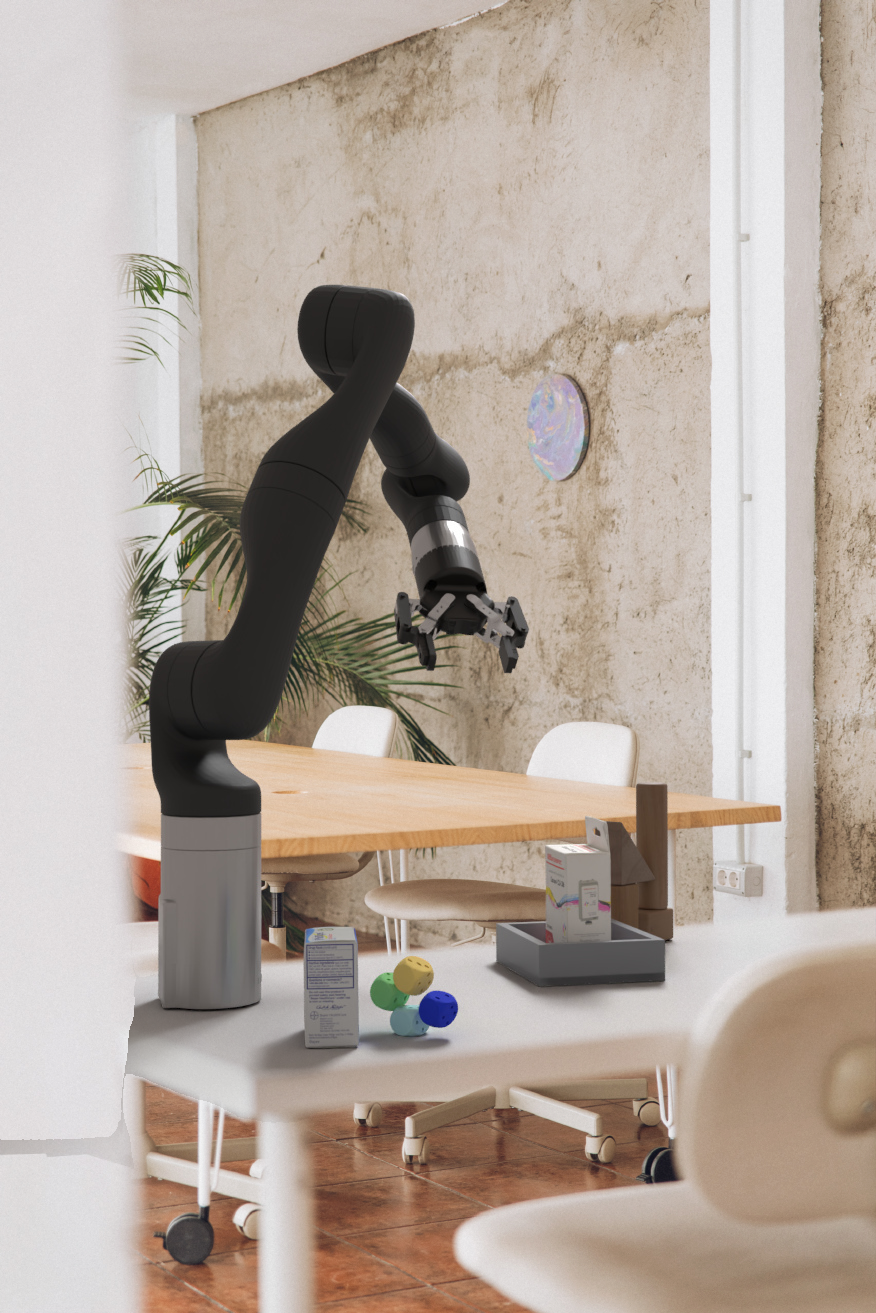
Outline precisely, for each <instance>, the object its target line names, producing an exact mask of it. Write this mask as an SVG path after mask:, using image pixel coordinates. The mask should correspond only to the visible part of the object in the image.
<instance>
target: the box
mask: <svg viewBox="0 0 876 1313" xmlns="http://www.w3.org/2000/svg"><path fill="white" fill-rule="evenodd" d="M495 933H496V934H495V937H496V938H495V939H496V940H495V943H496V944H495V946H496V947H495V949H496V950H495V958H496V960H495V961H496V962H497V961H498V962H497V963H498V964H500V963H501V965H502V966H503V967H505V968H507V969H509V970H510V969H511V972H514V973H515V974H517V975H519V976H521V977H522V978H524V979H525V980H527V981H529V982H530V983H532V984H534V985H536V986H537V987H541V988H542V987H556V986H558V987H560V986H562V987H563V986H579V985H600V984H620V983H622V984H623V983H624V984H625V983H638V982H639V983H642V982H643V983H646V982H660V981H661V982H662V981H663V982H664V981H666V940H664V939H662V938H659V937H657V936H654V935H652V934H649V933H647V932H644V931H642V930H639V929H637V928H634V927H632V926H629V925H627V924H624V923H622V922H619V921H617V920H614V919H611V940H608V941H584V942H560V943H546V920H545V921H542V920H541V921H524V922H523V921H518V922H516V921H515V922H496V923H495Z"/></svg>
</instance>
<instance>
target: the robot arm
mask: <svg viewBox="0 0 876 1313" xmlns="http://www.w3.org/2000/svg"><path fill="white" fill-rule="evenodd" d="M414 311H415V310H414V307H413V305H412V303H411V301H410V300H409V298H408V297H407V296H406V295H405V294H403V293H401V292H398V291H395V290H391V289H386V288H376V287H368V286H367V287H366V286H358V285H347V284H345V285H344V284H322V285H318V286H316V287H313V288H312V289H311V290H310V291H309V292H307V295H306V296H305V298H304V299H303V301H302V304H301V306H300V310H299V314H298V320H297V327H296V329H297V341H298V344H299V349H300V351H301V355H302V357H303V359H304V361H305V362H306V364H307V365H308V366H309V368H310V369H311V370H312V372H313V373H314V374H315V375H316V376H317V377H318V378H319V379H320V381H321V382H323V384H325V385H326V387H327V388H328V389H329V390H330V391H331V392H332V395H331V397H329V398H328V399H327V400H326V401H325V402H324V403H323V404H322V405H320V406H319V407H318V408H317V409H315V410H314V411H313V412H312V413H310V414H309V415H308V416H306V417H305V418H303V420H301V421H300V422H298V423H297V424H296V425H294V426H293V427H292V428H291V429H289V430H288V431H287V432H285V434H282V436H281V437H279V439H277V440H276V441H275V442H274V443H273V445H271V447H270V448H268V450H267V451H266V452H265V454H264V455H263V457H262V458H261V461H259V465H258V467H257V468H256V469H257V470H256V471H255V474H254V476H253V478H252V481H251V484H250V487H249V489H248V491H247V494H246V495H245V498H244V501H243V504H242V508H241V511H240V515H239V534H240V541H241V547H242V548H241V549H242V553H243V559H244V561H245V562H244V563H245V564H244V565H245V570H246V587H245V590H244V591H245V592H244V595H243V598H242V600H241V601H242V602H241V604H240V607H239V610H238V613H237V615H236V616H235V620H234V621H233V624H232V625H231V628H230V630H229V631H228V633H227V635H226V636H225V638H223V639H219V640H218V639H217V640H216V639H214V640H213V639H212V640H190V641H189V640H188V641H182V642H177V643H174V644H173V645H171V646H169V647H167V648H166V649H165V650H163V652H162V653H161V654H160V656H159V657H158V658H157V659H156V662H155V664H154V667H153V670H152V673H151V678H150V684H149V691H148V692H149V694H148V714H149V716H148V717H149V736H150V753H151V754H150V755H151V756H150V757H151V759H150V760H151V772H152V778H153V783H154V785H155V787H156V790H157V793H158V796H159V799H160V801H159V802H160V893H159V895H158V901H157V902H158V908H157V909H158V913H157V914H158V919H157V921H158V928H157V930H158V932H157V934H158V936H157V937H158V938H157V939H158V941H157V942H158V945H157V946H158V947H157V948H158V954H157V956H158V957H157V962H158V967H157V968H158V970H157V971H158V973H157V974H158V977H157V978H158V982H157V984H158V985H157V986H158V987H157V988H158V990H157V992H158V993H157V994H158V999H159V1002H160V1005H161V1006H162V1008H163V1009H170V1008H172V1009H173V1008H175V1009H177V1008H178V1009H179V1008H180V1009H186V1010H187V1009H191V1010H217V1009H218V1010H219V1009H221V1010H222V1009H228V1008H229V1009H230V1008H237V1007H238V1008H239V1007H243V1006H249V1005H252V1004H255V1003H257V1002H260V1001H261V1000H262V982H263V979H262V978H263V977H262V976H263V975H262V790H261V786H260V785H259V784H258V782H257V781H256V780H254V779H253V778H251V777H250V776H248V775H246V774H244V773H242V771H240V770H239V769H238V768H237V767H236V766H235V765H234V764H233V762H232V761H231V759H230V757H229V755H228V748H227V741H244V740H247V739H253V738H254V737H256V736H258V735H259V734H260V733H262V732H263V730H265V729H266V728H267V726H268V725H270V722H271V721H272V719H273V718H274V716H275V714H276V711H277V709H278V707H279V704H280V701H281V698H282V697H283V692H284V689H285V687H286V682H287V678H288V674H289V671H290V667H291V663H292V659H293V655H294V653H295V652H294V651H295V648H296V644H297V640H298V635H299V632H300V628H301V625H302V622H303V618H304V616H305V611H306V609H307V605H308V603H309V601H310V597H311V594H312V592H313V589H314V585H315V583H316V579H317V577H318V574H319V571H320V569H321V566H322V563H323V560H324V559H325V555H326V553H327V550H328V548H329V546H330V543H331V541H332V538H333V536H334V534H335V532H336V529H337V526H338V525H339V524H338V523H339V521H340V519H341V516H342V513H343V511H344V509H345V507H346V502H347V500H348V497H349V494H350V490H351V488H352V484H353V482H354V479H355V477H356V473H357V471H358V468H359V465H360V463H361V460H362V459H363V456H364V453H365V450H366V447H367V445H368V444H369V440H370V442H371V444H372V446H373V448H374V450H375V452H376V454H377V456H378V457H379V459H380V460H381V463H382V464H383V466H384V467H385V469H384V472H383V474H382V476H381V480H380V485H381V486H380V487H381V492H382V495H383V497H384V499H385V501H386V503H387V505H388V506H389V507H390V509H391V510H392V512H393V513H394V515H395V516H396V517H397V518H398V519H399V521H401V523H402V525H403V526H404V528H405V531H406V534H407V538H408V543H409V547H410V553H411V554H410V555H411V560H410V561H411V570H412V574H413V576H414V579H415V582H416V587H417V588H416V589H417V592H418V597H419V598H418V599H417V598H409V594H408V593H407V592H405V591H400V592H398V593H397V595H396V599H395V604H394V609H393V613H394V624H395V625H394V626H395V631H396V632H395V633H396V634H395V635H396V641H397V643H398V644H399V645H407V644H408V643H409V644H413V645H414V648H416V651H417V657H418V661H419V664H420V665H421V666H422V667H425V669H426V670H425V671H427V672H433V671H434V670H435V667H436V663H437V658H438V657H437V650H436V648H435V647H436V646H435V642H434V641H435V640H436V638H437V637H438V636H439V635H440V634H441V633H442V632H443V633H445V634H446V635H451V636H453V635H465V636H476V637H477V638H479V639H480V640H481V641H482V642H484V643H485V644H488V643H491V644H492V645H493V646H494V647H495V648H497V649H498V655H499V659H500V660H499V661H500V662H501V666H502V670H503V673H504V674H512V673H513V670H516V667H517V663H518V660H519V652H518V649H524V648H525V645H526V640H527V638H528V634H529V631H530V627H529V625H528V622H527V620H526V618H525V615H524V612H523V610H522V606H521V604H520V601H519V598H518V597H515V596H508V597H507V600H506V602H505V601H504V602H503V601H501V602H500V601H497V602H496V601H494V600H493V599H492V598H491V597H490V596H489V594H488V590H487V584H486V581H485V578H484V574H483V570H482V567H481V563H480V559H479V556H478V552H477V549H476V548H477V547H476V546H475V543H474V541H473V539H472V537H471V534H470V532H469V527H468V523H467V519H466V516H465V513H464V511H463V508H462V507H461V505H460V504H459V503H458V502H459V501H461V500H462V499H463V498H464V497H465V496H466V494H467V493H468V491H469V488H470V483H471V477H470V473H469V468H468V466H467V463H466V461H465V460H464V458H463V457H462V456H461V454H460V453H459V452H458V450H457V449H456V448H454V447H453V446H452V445H451V444H450V443H449V442H448V441H447V440H444V439H443V438H442V437H440V435H438V434H437V433H436V432H435V430H434V428H433V426H432V423H431V421H430V420H429V417H428V415H427V413H426V410H425V409H424V408H423V406H422V404H421V403H420V402H419V400H418V399H417V398H416V397H415V396H414V395H413V394H412V393H411V392H410V391H409V390H407V389H406V388H405V387H404V386H403V385H402V384H400V383H398V380H399V379H400V377H401V374H402V372H403V370H404V368H405V365H406V364H407V360H408V359H409V354H410V352H411V348H412V345H413V341H414V335H415V328H416V326H415V325H416V319H415V312H414ZM416 612H418V613H419V615H420V616H421V617H423V618H424V620H423V621H422V623H421V624H420V625H419V626H414V625H413V622H412V621H413V620H412V617H413V616H414V615H415V613H416ZM486 624H487V626H486ZM485 626H486V628H485ZM499 634H500V635H501V636H500V635H499Z"/></svg>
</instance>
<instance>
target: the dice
mask: <svg viewBox="0 0 876 1313" xmlns="http://www.w3.org/2000/svg"><path fill="white" fill-rule="evenodd" d="M395 966H396V967H395V968H394V970H393V972H389V971H387V972H383V973H381V974H379V975H378V976H376V978H375V979H374V980H373V981H372V983H371V985H370V989H369V995H370V1000H371V1002H372V1003H373V1005H374V1006H375V1007H377V1008H379V1009H381V1010H383V1011H387V1012H392V1013H391V1014H390V1017H389V1018H390V1019H389V1024H390V1027H391V1030H392V1031H393V1032H394V1034H396V1035H398V1036H400V1037H419V1036H422V1035H424V1034H426V1032H427V1031H428V1030H429V1028H430V1027H432V1028H436V1029H437V1028H439V1029H442V1028H447V1027H448V1026H450V1025H451V1024H452V1023H453V1022H454V1021H455V1019H456V1017H457V1016H458V1015H457V1014H458V1012H459V1005H458V1004H459V1003H458V1001H457V999H456V997H455V996H454V995H452V993H449V992H448V991H443V990H431V991H429V992H428V993H427V990H428V989H429V988H430V987H431V985H432V983H433V981H434V980H435V979H434V977H435V972H434V969H433V967H432V964H431V963H430V962H429V961H428V960H426V959H424V958H422V957H420V956H415V955H409V956H405V957H404V958H402V959H401V960H400V961H399V962H398V963H397V965H395ZM425 992H426V994H425V995H424V996H422V998H421V1000H420V1002H419V1004H407V1002H408V1001H409V999H410V997H413V996H417V997H418V996H420V995H422V994H424V993H425Z"/></svg>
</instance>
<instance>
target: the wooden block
mask: <svg viewBox="0 0 876 1313" xmlns="http://www.w3.org/2000/svg"><path fill="white" fill-rule="evenodd" d="M668 791H669V790H668V785H667V783H665V782H654V781H653V782H652V781H650V782H647V781H646V782H638V783H636V785H635V826H636V827H635V828H636V830H635V833H636V834H635V840H636V841H634V840H633V839H632V837H631V835H630V834H629V832H628V831H627V828H626V827H625V826H624V824H623V822H621V821H611V820H609V821H607V820H605V821H606V822H607V826H608V836H609V848H610V859H611V919H614V920H617V921H619V922H622V923H624V924H627V925H629V926H632V927H634V928H637V929H639V930H642V931H644V932H647V933H649V934H652V935H654V936H657V937H659V938H662V939H664V940H665V941H669V940H672V939H673V938H674V908H672V907H669V891H668V890H669V869H668V868H669V862H668V860H669V854H668V852H669V851H668V848H669V847H668V845H669V843H668V842H669V841H668V840H669V839H668V837H669V834H668V833H669V832H668V831H669V830H668V828H669V827H668V825H669V824H668V820H669V819H668V817H669V814H668V813H669V812H668V800H669V799H668V798H669V796H668ZM594 834H595V835H597V836H600V831H599V830H597V827H596V829H594Z"/></svg>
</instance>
